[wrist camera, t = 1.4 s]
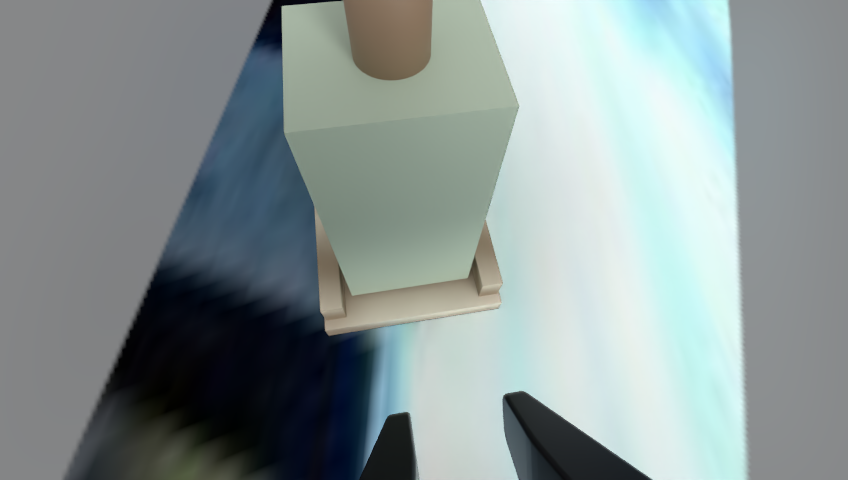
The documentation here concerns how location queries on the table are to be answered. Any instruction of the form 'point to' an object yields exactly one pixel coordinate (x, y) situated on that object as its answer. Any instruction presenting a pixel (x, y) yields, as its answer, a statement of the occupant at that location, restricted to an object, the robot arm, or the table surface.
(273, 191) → the table surface
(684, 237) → the table surface
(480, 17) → the sliding block
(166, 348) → the table surface
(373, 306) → the birch rail
